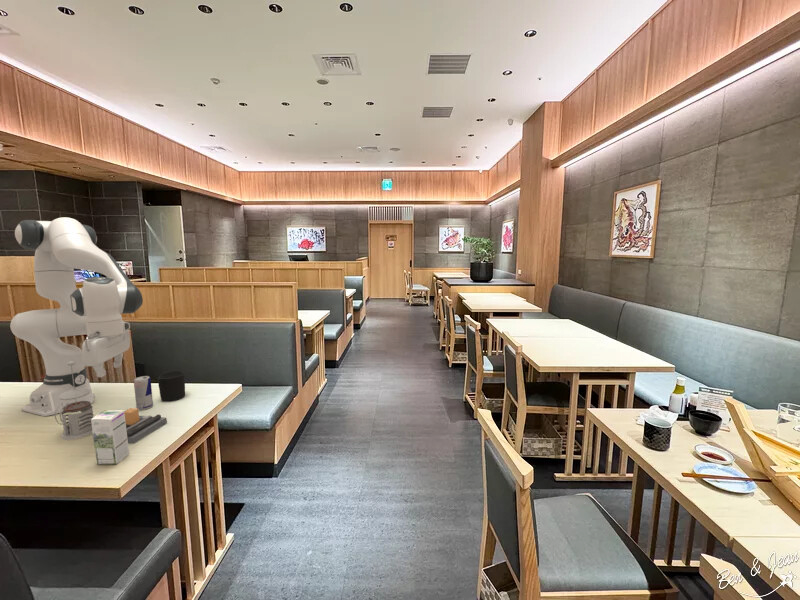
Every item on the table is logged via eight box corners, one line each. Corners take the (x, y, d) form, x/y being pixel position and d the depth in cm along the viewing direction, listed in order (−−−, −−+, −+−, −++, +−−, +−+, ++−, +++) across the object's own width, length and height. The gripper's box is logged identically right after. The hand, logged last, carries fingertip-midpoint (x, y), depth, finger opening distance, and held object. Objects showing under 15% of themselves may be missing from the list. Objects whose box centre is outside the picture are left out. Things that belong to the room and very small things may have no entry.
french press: (106, 425, 127) (98, 357, 123) (76, 443, 116) (66, 368, 112) (79, 424, 127) (70, 356, 124) (46, 442, 116) (35, 368, 112)
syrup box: (130, 453, 110) (125, 409, 108) (116, 465, 104) (110, 418, 102) (111, 453, 110) (105, 409, 108) (95, 465, 104) (89, 418, 102)
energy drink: (156, 404, 144) (153, 376, 142) (145, 410, 138) (142, 381, 137) (144, 404, 144) (141, 375, 142) (133, 410, 139) (129, 380, 137)
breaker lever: (124, 426, 122) (122, 412, 121) (131, 422, 124) (130, 408, 124) (132, 427, 121) (130, 412, 120) (139, 422, 124) (138, 408, 123)
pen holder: (191, 393, 154) (189, 371, 153) (174, 403, 145) (172, 379, 144) (171, 392, 156) (169, 370, 154) (154, 401, 147) (151, 378, 145)
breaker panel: (95, 440, 117) (93, 430, 117) (132, 420, 131) (131, 410, 130) (133, 443, 115) (132, 433, 115) (166, 422, 129) (166, 413, 129)
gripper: (98, 335, 103) (103, 381, 105) (132, 322, 123) (136, 361, 125) (72, 337, 102) (77, 383, 104) (111, 323, 121) (115, 363, 123)
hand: (110, 371), depth 114 cm, fingers open, 8 cm apart
